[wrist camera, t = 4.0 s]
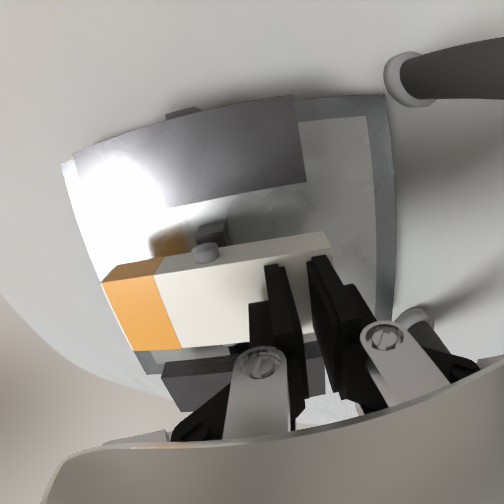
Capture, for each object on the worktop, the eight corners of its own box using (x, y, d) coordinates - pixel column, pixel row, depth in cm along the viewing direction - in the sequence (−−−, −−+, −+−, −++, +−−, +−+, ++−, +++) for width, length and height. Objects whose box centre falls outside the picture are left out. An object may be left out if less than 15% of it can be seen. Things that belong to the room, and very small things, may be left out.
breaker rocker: (321, 221, 11) (330, 236, 10) (329, 312, 13) (336, 335, 12) (112, 257, 12) (96, 274, 11) (145, 335, 14) (135, 357, 12)
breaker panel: (363, 90, 13) (419, 79, 8) (376, 317, 19) (408, 375, 14) (82, 151, 14) (19, 168, 9) (156, 354, 20) (138, 416, 15)
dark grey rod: (429, 302, 19) (557, 498, 3) (423, 334, 20) (525, 518, 4) (393, 313, 19) (510, 537, 3) (389, 345, 21) (480, 550, 4)
